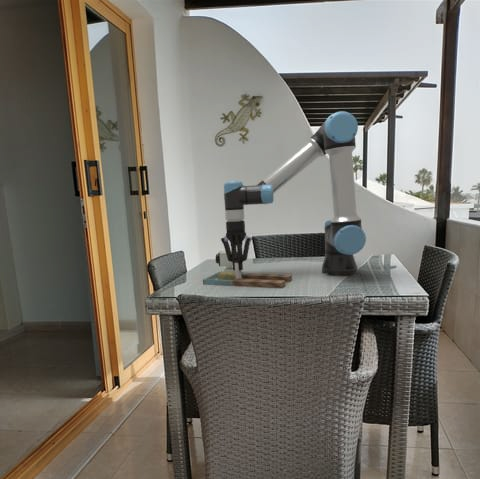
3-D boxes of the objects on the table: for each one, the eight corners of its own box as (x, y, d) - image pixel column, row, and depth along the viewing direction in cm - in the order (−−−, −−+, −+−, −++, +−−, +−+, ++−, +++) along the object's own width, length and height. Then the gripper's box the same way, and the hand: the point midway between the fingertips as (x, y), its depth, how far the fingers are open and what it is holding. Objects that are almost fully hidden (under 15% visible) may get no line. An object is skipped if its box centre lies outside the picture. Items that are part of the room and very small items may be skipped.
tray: (246, 280, 151) (245, 273, 151) (232, 288, 139) (232, 280, 138) (218, 278, 156) (218, 272, 156) (203, 286, 144) (202, 279, 143)
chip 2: (239, 281, 147) (238, 272, 147) (235, 283, 143) (234, 274, 143) (230, 281, 149) (229, 271, 148) (226, 283, 145) (225, 273, 145)
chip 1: (230, 281, 149) (229, 271, 148) (226, 283, 145) (225, 273, 145) (221, 280, 150) (221, 271, 150) (217, 283, 147) (216, 273, 146)
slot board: (291, 281, 144) (291, 274, 143) (282, 291, 131) (281, 283, 130) (246, 280, 151) (245, 273, 151) (232, 288, 139) (232, 280, 138)
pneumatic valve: (241, 276, 159) (240, 249, 157) (216, 276, 161) (214, 250, 160) (244, 273, 164) (242, 248, 163) (219, 273, 167) (218, 248, 165)
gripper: (253, 219, 143) (256, 276, 146) (224, 220, 148) (227, 275, 151) (246, 220, 136) (250, 281, 139) (216, 221, 141) (220, 279, 144)
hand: (238, 278), depth 145 cm, fingers closed
